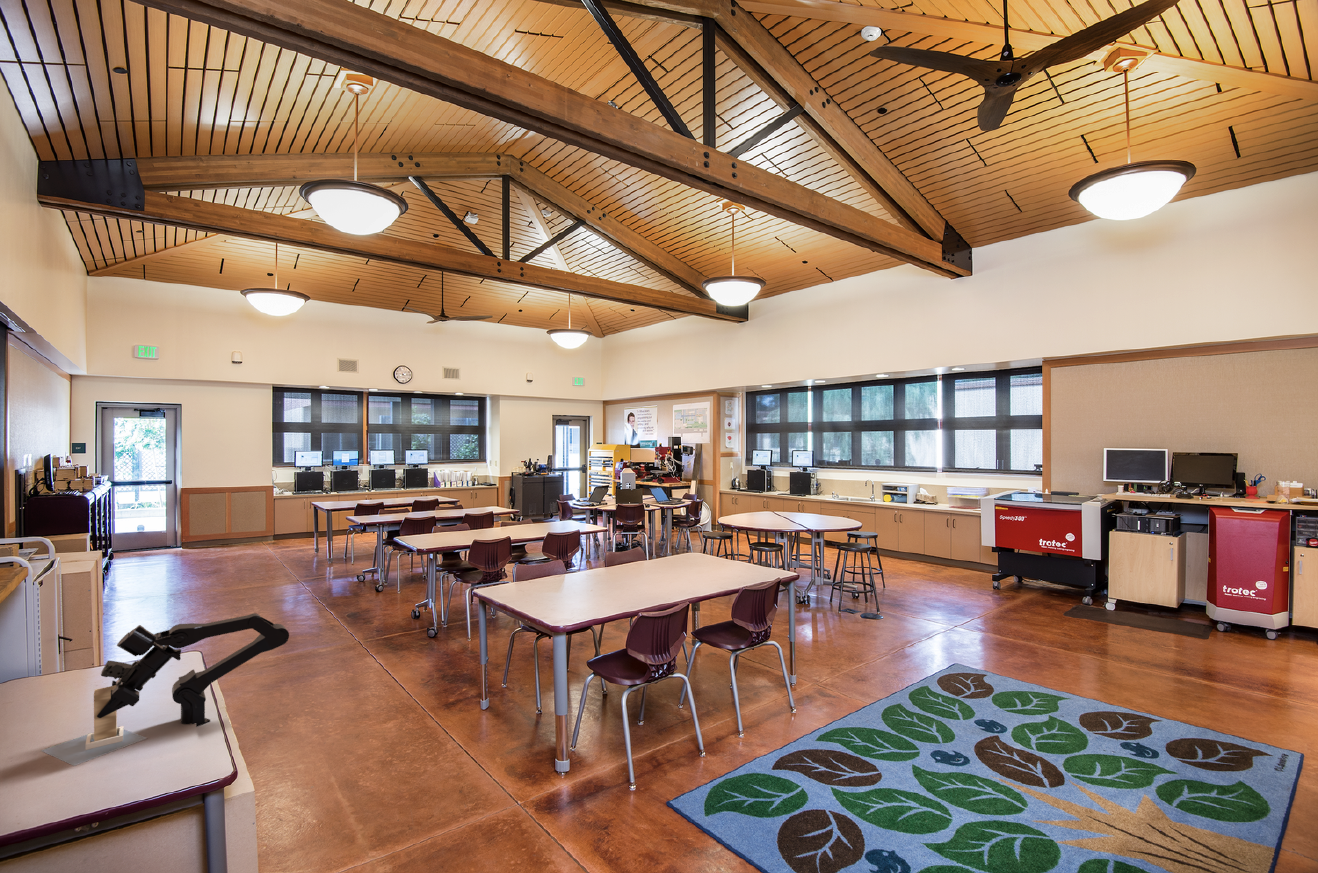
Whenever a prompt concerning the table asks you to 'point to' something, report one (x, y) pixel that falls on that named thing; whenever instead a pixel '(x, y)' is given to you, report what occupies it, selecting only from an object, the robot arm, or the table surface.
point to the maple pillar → (108, 723)
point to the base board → (77, 754)
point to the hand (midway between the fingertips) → (98, 714)
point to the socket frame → (104, 741)
